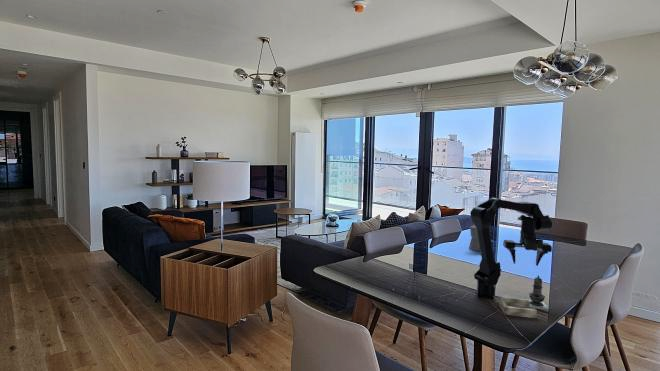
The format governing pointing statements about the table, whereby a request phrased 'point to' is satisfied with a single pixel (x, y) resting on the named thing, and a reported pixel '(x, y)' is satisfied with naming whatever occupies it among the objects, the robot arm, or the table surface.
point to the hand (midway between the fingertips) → (525, 264)
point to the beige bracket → (516, 310)
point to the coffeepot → (474, 239)
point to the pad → (539, 306)
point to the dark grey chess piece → (537, 293)
